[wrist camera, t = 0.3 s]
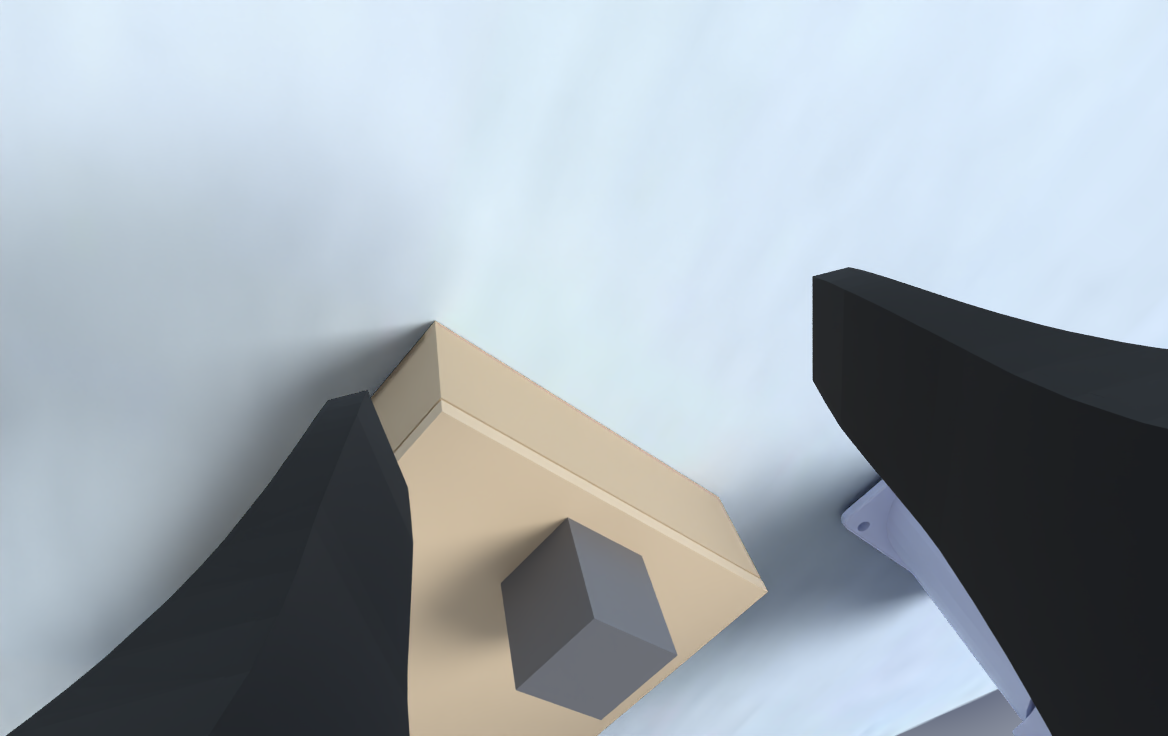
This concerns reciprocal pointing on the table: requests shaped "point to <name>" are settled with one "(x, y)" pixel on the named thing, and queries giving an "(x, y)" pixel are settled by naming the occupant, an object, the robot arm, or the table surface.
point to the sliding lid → (542, 590)
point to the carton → (549, 435)
